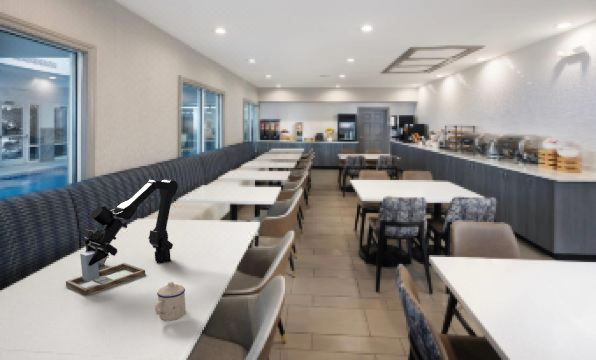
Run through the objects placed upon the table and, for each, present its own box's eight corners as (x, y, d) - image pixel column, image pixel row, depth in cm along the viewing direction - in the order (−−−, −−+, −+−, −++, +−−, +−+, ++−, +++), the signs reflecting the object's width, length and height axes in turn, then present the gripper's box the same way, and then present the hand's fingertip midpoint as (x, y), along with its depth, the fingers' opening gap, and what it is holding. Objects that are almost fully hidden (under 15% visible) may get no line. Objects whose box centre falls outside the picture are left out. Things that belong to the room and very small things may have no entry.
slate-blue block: (93, 275, 164) (91, 250, 162) (99, 278, 161) (96, 252, 160) (82, 279, 160) (80, 253, 159) (88, 281, 158) (85, 255, 156)
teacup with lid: (171, 306, 141) (169, 275, 140) (191, 311, 138) (190, 279, 136) (146, 322, 131) (144, 288, 129) (167, 327, 127) (165, 293, 125)
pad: (118, 272, 174) (117, 272, 174) (127, 276, 170) (127, 275, 170) (104, 277, 169) (104, 276, 169) (113, 281, 165) (113, 280, 165)
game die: (101, 274, 182) (97, 262, 175) (85, 267, 183) (81, 255, 176) (114, 260, 188) (111, 248, 181) (99, 253, 189) (95, 240, 183)
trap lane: (124, 266, 181) (124, 262, 181) (145, 274, 172) (145, 270, 172) (66, 285, 161) (65, 281, 160) (86, 295, 151) (85, 290, 151)
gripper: (83, 218, 166) (58, 250, 159) (107, 224, 155) (81, 259, 148) (103, 231, 173) (80, 263, 166) (127, 238, 163) (104, 272, 155)
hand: (86, 264), depth 159 cm, fingers closed on slate-blue block, 4 cm apart
